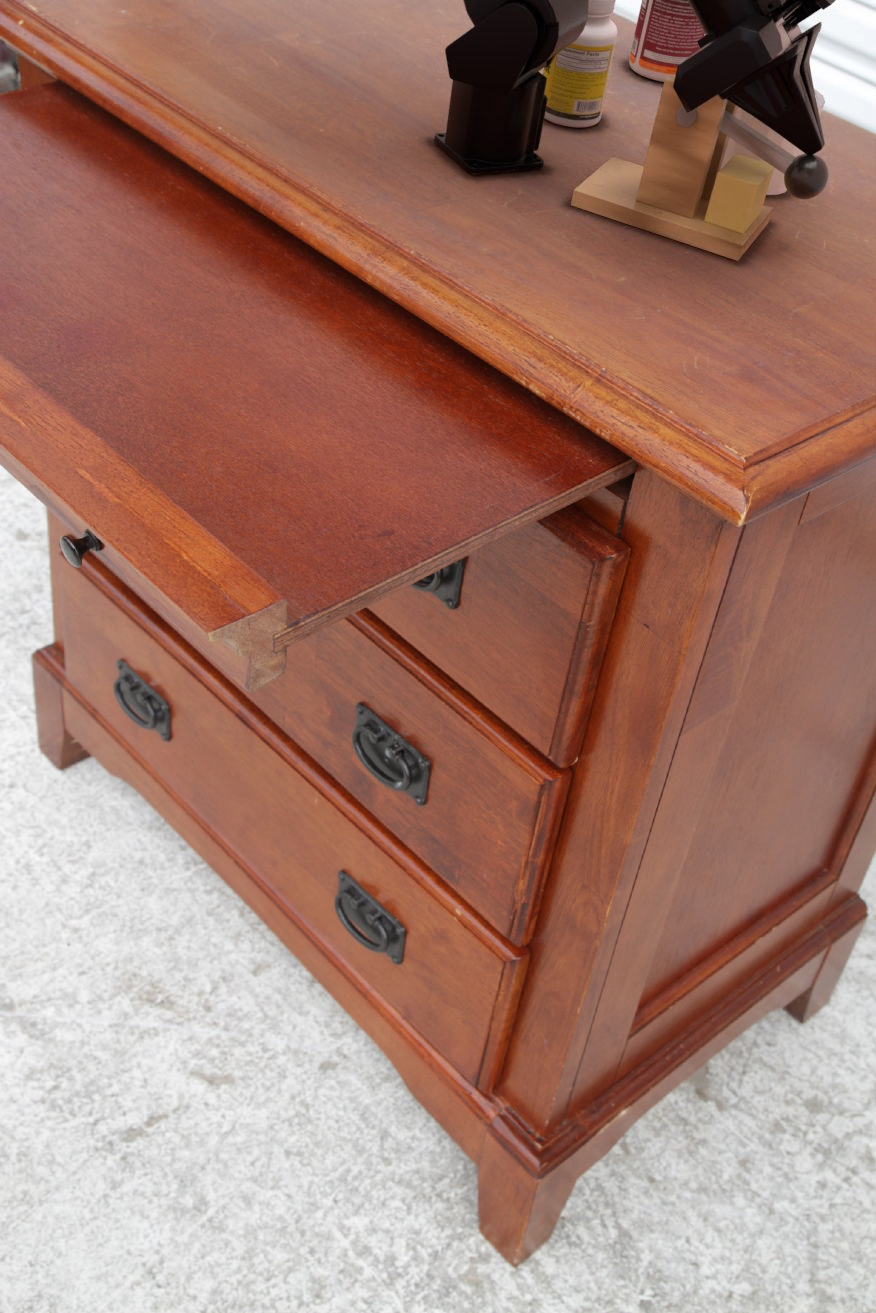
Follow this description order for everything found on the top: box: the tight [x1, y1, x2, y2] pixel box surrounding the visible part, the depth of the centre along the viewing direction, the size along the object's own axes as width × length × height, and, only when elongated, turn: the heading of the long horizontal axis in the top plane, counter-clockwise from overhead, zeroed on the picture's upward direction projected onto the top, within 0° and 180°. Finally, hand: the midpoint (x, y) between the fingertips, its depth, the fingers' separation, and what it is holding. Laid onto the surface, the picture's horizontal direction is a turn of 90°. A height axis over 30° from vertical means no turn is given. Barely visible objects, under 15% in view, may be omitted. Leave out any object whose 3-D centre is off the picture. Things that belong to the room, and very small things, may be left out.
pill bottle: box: [628, 0, 705, 83], centre depth 115 cm, size 6×6×11 cm
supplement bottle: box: [542, 0, 619, 128], centre depth 104 cm, size 5×5×10 cm
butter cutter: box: [570, 76, 774, 262], centre depth 92 cm, size 13×8×10 cm, turn 63°
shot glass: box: [720, 88, 826, 196], centre depth 100 cm, size 7×7×7 cm
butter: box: [704, 154, 775, 234], centre depth 92 cm, size 4×3×4 cm
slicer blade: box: [719, 110, 830, 200], centre depth 90 cm, size 12×3×3 cm, turn 63°
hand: (817, 151), depth 88 cm, fingers closed, pressing on butter cutter
